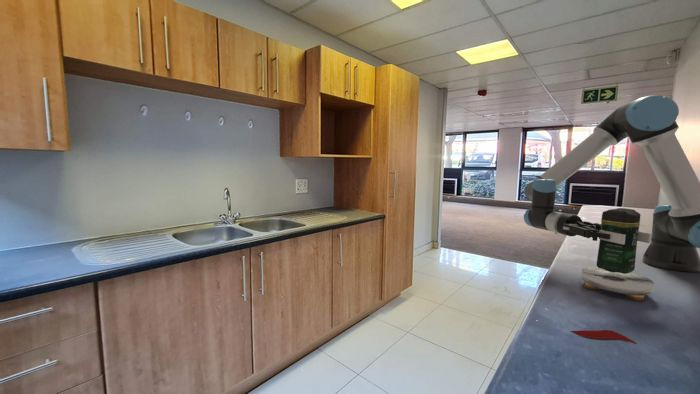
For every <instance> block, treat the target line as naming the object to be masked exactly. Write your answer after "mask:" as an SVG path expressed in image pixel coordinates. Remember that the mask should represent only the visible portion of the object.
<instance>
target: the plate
mask: <svg viewBox="0 0 700 394" xmlns="http://www.w3.org/2000/svg"><path fill="white" fill-rule="evenodd" d="M580 279H581V281H583V282H584V288H586V289H589V290H590V291H592V290H593V291H600V289H601V290H605V291H607V292H612V293H617V294H623V295H626V296H625V297H626V298H628V299H630V300H632V301H637V302H644V301H645V296H649V295H653V294H654V288H655V287H654V286H655V284H654V283H655V282H654V281H653V280H651V279H650V278H648V277H646V276H644V275H640V274H638V273H634V272H630V273H627V274H622V273H617V272H615V273H613V272H609V271H605V270H604V269H601V268H598V267H597V266H587V267H583V268H582V269H581V274H580Z"/></svg>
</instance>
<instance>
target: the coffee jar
mask: <svg viewBox="0 0 700 394" xmlns="http://www.w3.org/2000/svg"><path fill="white" fill-rule="evenodd" d="M640 223H641V213H639V212H638V211H636V210H635V209H630V208H623V207H620V208H619V207H618V208H613V209H607V210H604V211H602V213H601V219H600V224H601V230H604V231H609V232H614V233H619V234H624V235H626V236H625V244H618V243H614V242H610V241H605V240H601V239H599V241H598V242H599V244H598V251H597V258H596V267H598V268H601V269H604V270H605V271H609V272H613V273H615V272H617V273H622V274H627V273H630V272H631V273H633V272H634V271H635V268H636V258H637V257H636V254H637V247H638V241H637V239H638V232H639V230H640Z"/></svg>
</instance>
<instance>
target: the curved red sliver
mask: <svg viewBox="0 0 700 394" xmlns="http://www.w3.org/2000/svg"><path fill="white" fill-rule="evenodd" d="M570 332H571V333H574V334H575V335H577V336H580V337H583V338H588V339H594V340H618V341H624V342H627V343H632V344H637V345H638V343H637V342H636V341H634V340H633V339H631V338H629V337H627V336H626V335H623V334H621V333H619V332H617V331H614V330H611V329H601V330H599V329H597V330H596V329H595V330H594V329H593V330H592V329H591V330H589V329H588V330H587V329H585V330H583V329H582V330H570Z"/></svg>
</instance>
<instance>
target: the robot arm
mask: <svg viewBox="0 0 700 394" xmlns="http://www.w3.org/2000/svg"><path fill="white" fill-rule="evenodd" d="M679 112H680V109H679V105H678V104H677V102H676V101H675V100H673V99H672V98H671V97H669V96H665V95H659V94H654V95H647V96H643V97H639V98H637V99H635V100H633V101H631V102H628V103H626V104H623V105H620V106H619V107H617V108H616V109H615V110H613V111H612V112H611V113H610V114H609V115H608V116H607V117H606V118H604V120H603V121H601V122H600V123H599V124H598V125H596V127H594V128H593V133H591V134H589V135H588V136H587V137H586V138H585V139H583V140H582V141H581V142H579V144H578V145H576V146H574V148H573V149H572V150H570V151H569V152H568V153H567V154H565V155H564V156H563V157H562V158H560V159H559V160H558V161H556V162H555V163H554V164H553V165H552V166H550V167H549V168H548V169H547V170H545V171H544V172H543V173H542V174H541V175H540V176H538V177H537V178H535V179H534V180H533V181H532V182H529V183H527V184H526V185H525V187H524V189H523V191H524V192H523V193H524V195H525V196H526V197H527V198H528V199H529V200H531V206H530V208H527V210H525V213H524V214H523V220H524V221H523V222H524V223H525V224H526V225H527V226H529V227H532V228H535V229H539V230H544V231H549V232H551V233H553V232H554V234H555V235H558V234H560V235H563V236H568V237H576V236H579V237H582V238H586V239H590V238H591V239H592V241H594V242H595V241H596V242H598V240H600V239H601V240H605V241H610V242H614V243H618V244H625V236H626V235H624V234H619V233H614V232H609V231H604V230H601V223H598V222H590V221H587V220H586V221H583V220H582V218H581V217H580V216H579V215H577V214H571V213H566V212H559V211H555V203H556V192H557V188H558V187H559V186H560V185H561V184H563V183H564V182H566V181H567V180H568V179H569V178H570V177H571V176H573V175H574V174H575V173H577V172H578V171H580V170H581V169H582V168H583V167H585V165H587V164H588V163H590V162H591V161H592V160H594V159H595V158H596V157H597V156H599V155H601V154H602V152H604V151H605V150H606V149H608V148H609V147H611V146H616V145H617V144H619V143H620V142H622V141H623V140H625V139H627V138H629V140H630V142H631V144H632V145H637V146H639V147H640V149H641V151H642V152H643V154H644V156H645V158H646V160H647V162H648V164H649V166H650V168H651V170H652V172H653V174H654V175H655V178H656V179H657V181H658V184H659V185H660V188H661V190H662V191H663V193H664V195H665V197H666V199H667V201H668V203H669V204H664V205H663V204H662V205H661V204H660V205H657V206H655V207H654V209H653V213H652V227H651V233H650V232H645V231H639V232H638V239H637V242H642V243H646V244H649V245H648V246H647V249H646V250H645V252H644V253H643V255H642V262H643V261H644V262H643V263H645V264H646V265H649V264H650V266H653V267H657V268H661V269H666V270H672V271H678V272H688V273H700V256H699V252H698V249H700V180H699V178H698V176H697V174H696V172H695V170H694V169H693V166H692V164H691V163H690V160H689V159H688V157H687V155H686V153H685V151H684V149H683V147H682V146H681V144H680V141H679V140H678V138H677V136H676V133H677V131H678V129H680V128H679V125H678V123H677V121H676V120H677V118H678V116H679Z"/></svg>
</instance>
